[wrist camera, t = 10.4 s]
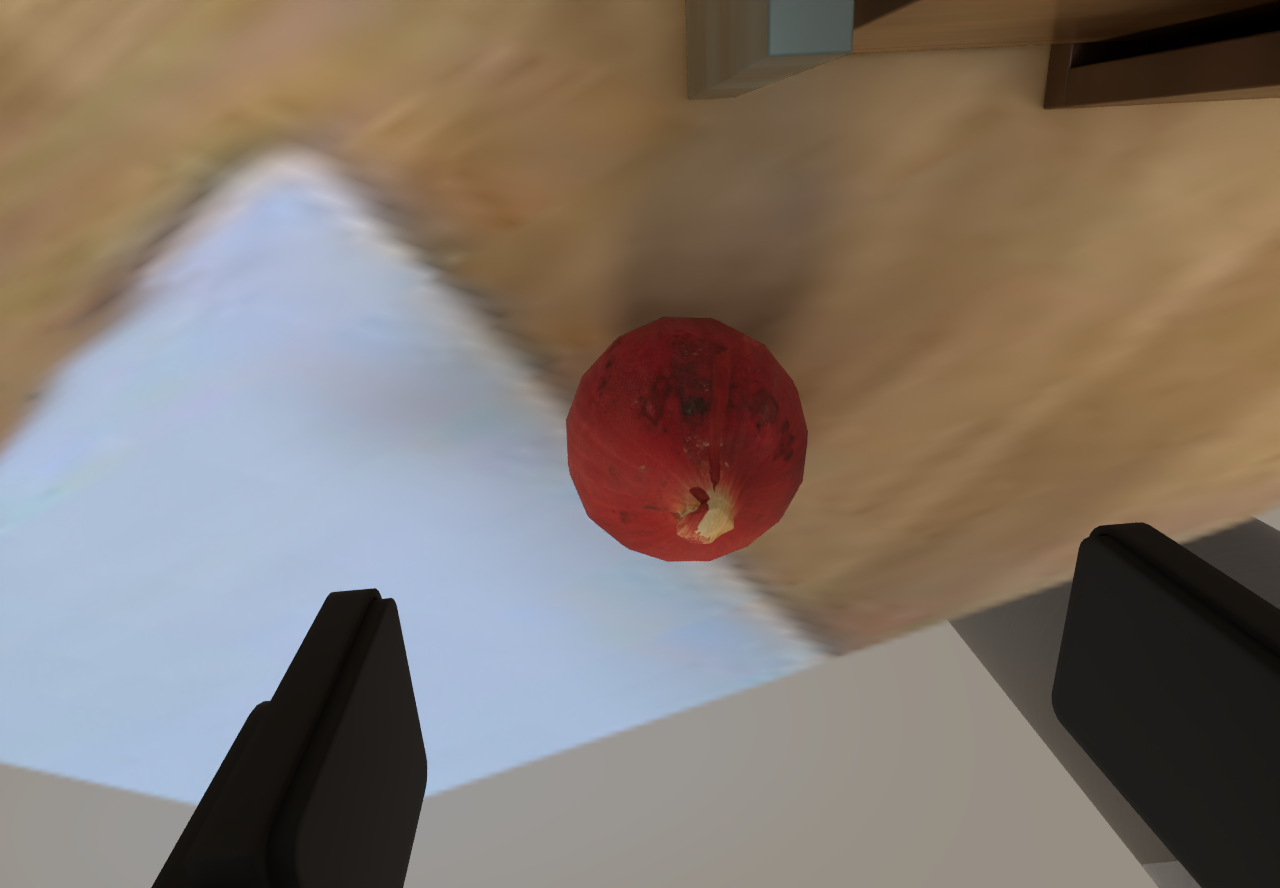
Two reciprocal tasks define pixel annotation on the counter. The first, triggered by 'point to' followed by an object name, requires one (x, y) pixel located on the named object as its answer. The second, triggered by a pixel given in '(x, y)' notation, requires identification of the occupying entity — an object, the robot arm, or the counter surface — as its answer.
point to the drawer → (927, 30)
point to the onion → (686, 440)
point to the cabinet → (1163, 71)
